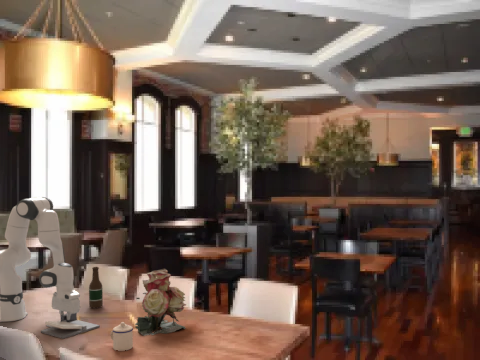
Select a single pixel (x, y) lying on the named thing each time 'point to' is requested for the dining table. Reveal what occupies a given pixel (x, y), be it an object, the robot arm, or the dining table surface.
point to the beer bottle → (95, 290)
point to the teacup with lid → (122, 337)
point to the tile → (64, 325)
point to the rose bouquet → (160, 304)
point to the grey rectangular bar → (63, 317)
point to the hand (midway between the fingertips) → (65, 319)
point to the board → (70, 332)
